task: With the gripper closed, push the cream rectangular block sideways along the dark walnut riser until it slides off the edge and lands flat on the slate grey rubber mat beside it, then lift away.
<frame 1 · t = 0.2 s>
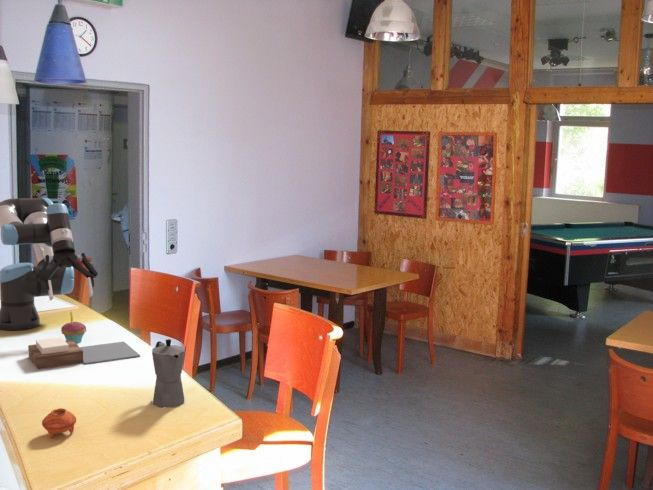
hand: (71, 297, 254), 16 cm above the counter, tool tilted 35°, fingers open, 13 cm apart
cream rectangular block: (52, 348, 234), point 4 cm above the counter, touching riser
mat: (105, 353, 243), on the counter
pot: (59, 434, 179), on the counter
cupcake: (73, 342, 255), on the counter
coffeepot: (167, 401, 203), on the counter
riser: (55, 359, 235), on the counter
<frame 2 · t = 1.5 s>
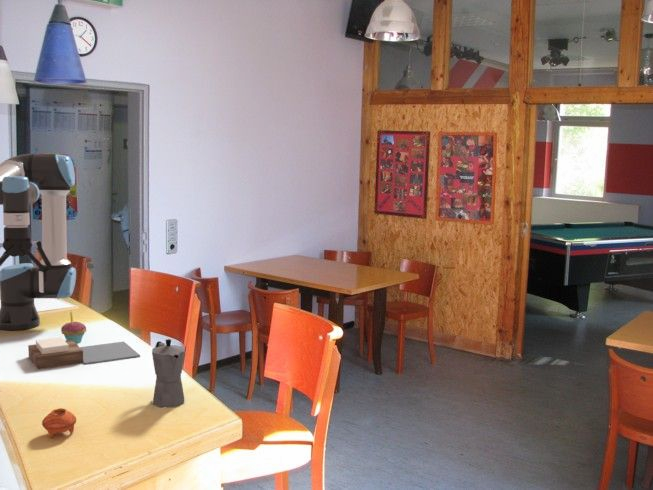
hand: (18, 293, 226), 23 cm above the counter, tool pointing down, fingers open, 13 cm apart
nothing on the counter moved.
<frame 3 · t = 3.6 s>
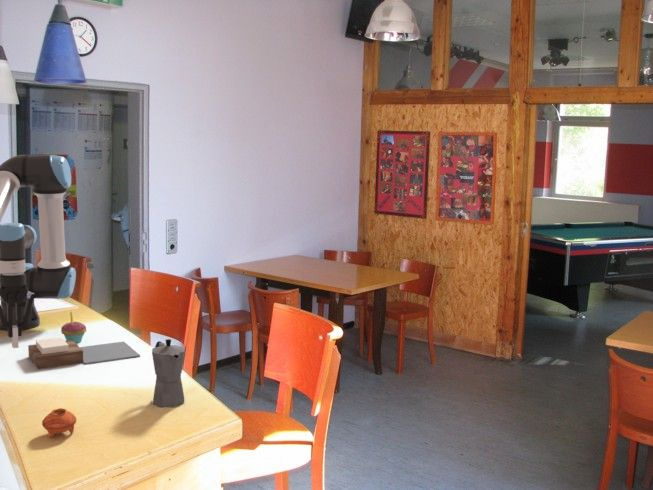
hand: (15, 346, 227), 6 cm above the counter, tool pointing down, fingers closed
nothing on the counter moved.
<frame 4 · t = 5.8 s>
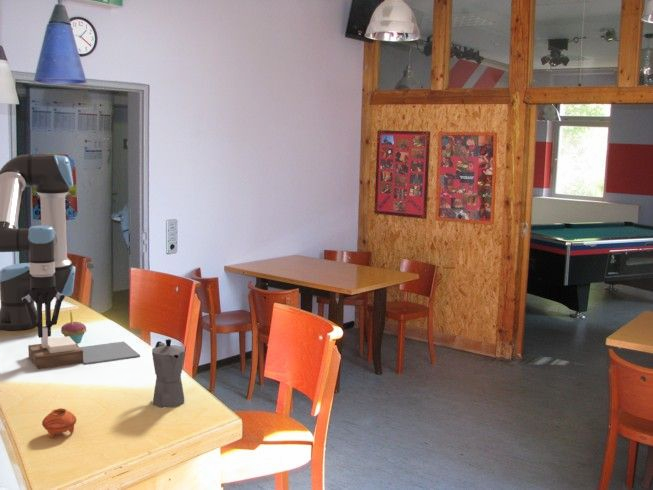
hand: (44, 346, 232), 5 cm above the counter, tool pointing down, fingers closed
cream rectangular block: (60, 347, 235), point 4 cm above the counter, touching gripper, riser
everything else where it was.
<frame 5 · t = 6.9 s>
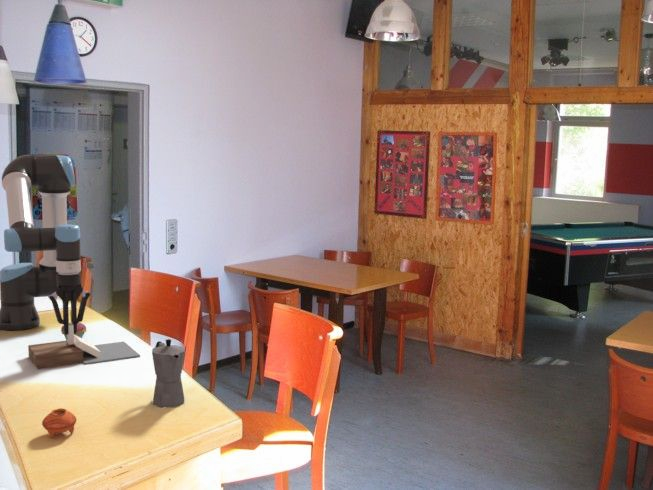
hand: (70, 343, 237), 5 cm above the counter, tool pointing down, fingers closed
cream rectangular block: (83, 348, 239), point 3 cm above the counter, tilted 35°, touching gripper
everything else where it was.
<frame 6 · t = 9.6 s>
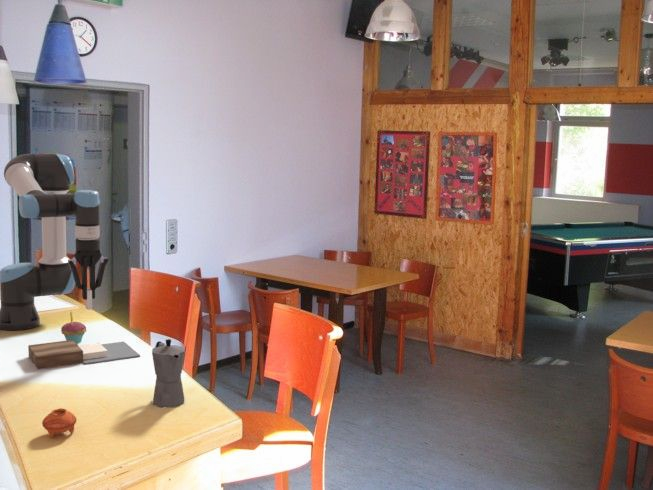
hand: (88, 308, 239), 16 cm above the counter, tool pointing down, fingers closed
cream rectangular block: (91, 354, 240), resting on mat
everything else where it was.
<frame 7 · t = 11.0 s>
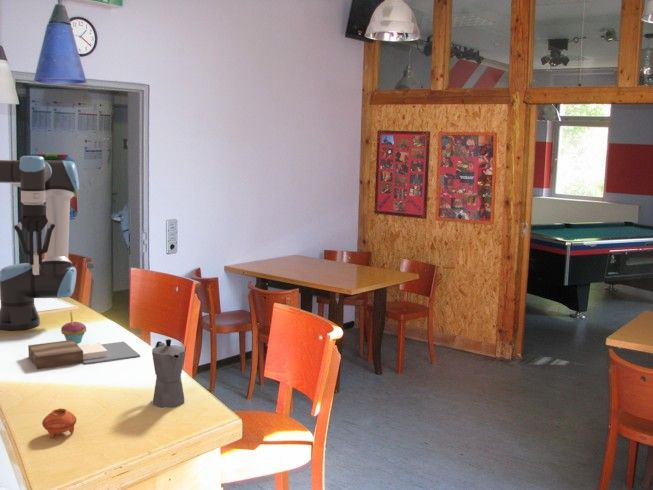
hand: (35, 274, 240), 26 cm above the counter, tool pointing down, fingers closed
nothing on the counter moved.
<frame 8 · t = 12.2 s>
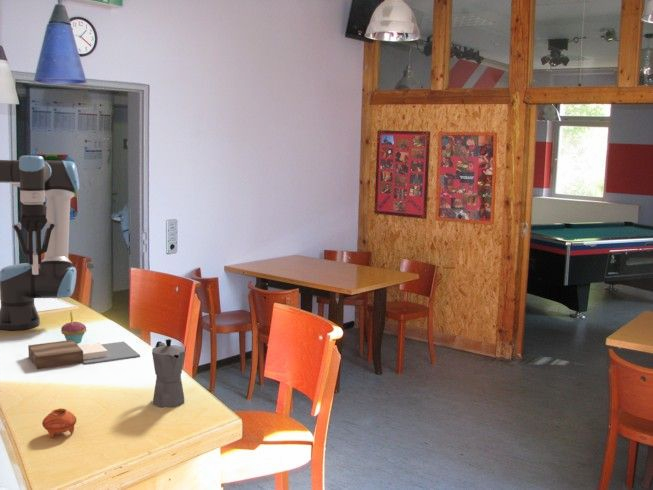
hand: (35, 273, 240), 26 cm above the counter, tool pointing down, fingers closed
nothing on the counter moved.
at the end: cream rectangular block point 0.5 cm above the counter; cream rectangular block inside the target area on the mat (4.7 cm from its centre), point 0.5 cm above the mat's base; cream rectangular block tilted 0° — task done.
